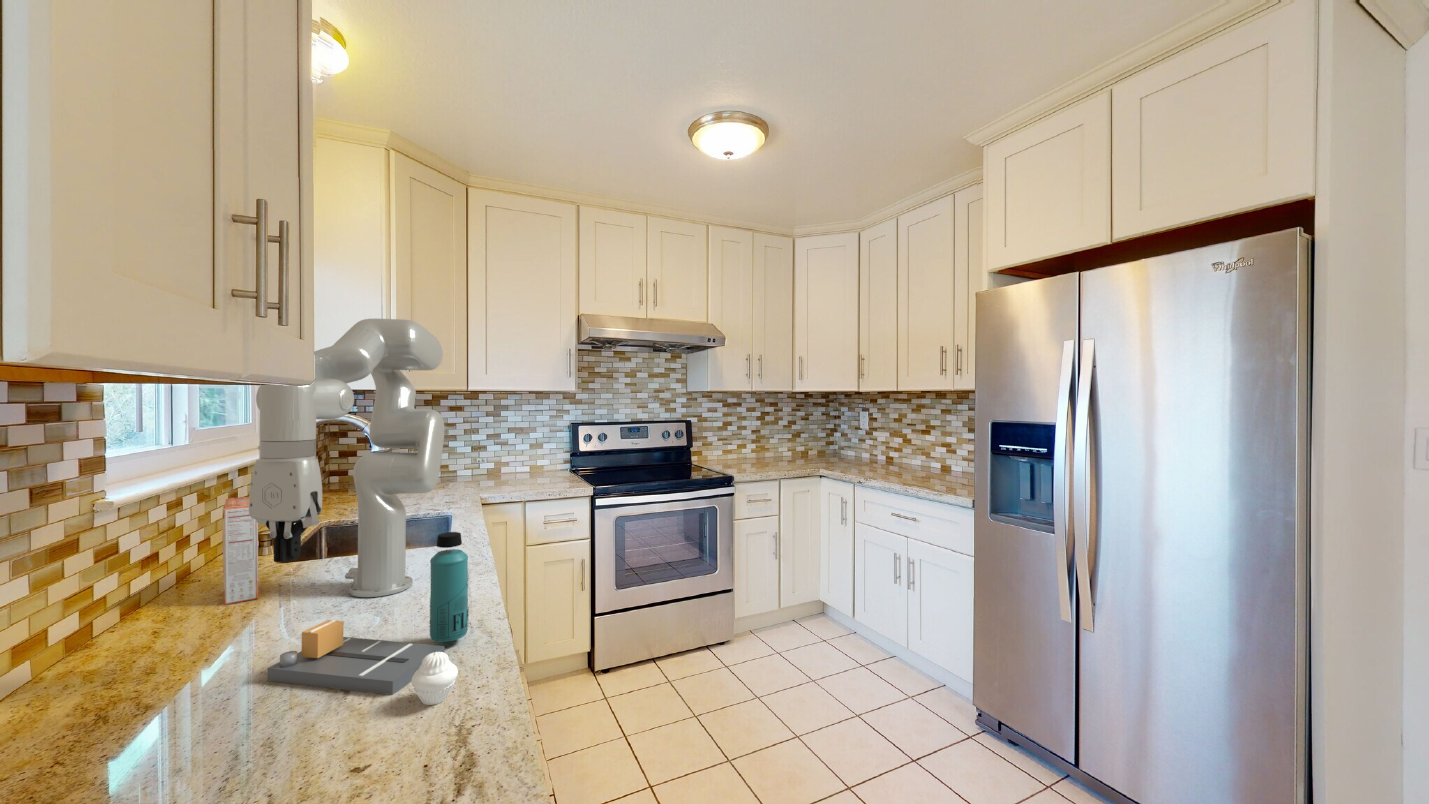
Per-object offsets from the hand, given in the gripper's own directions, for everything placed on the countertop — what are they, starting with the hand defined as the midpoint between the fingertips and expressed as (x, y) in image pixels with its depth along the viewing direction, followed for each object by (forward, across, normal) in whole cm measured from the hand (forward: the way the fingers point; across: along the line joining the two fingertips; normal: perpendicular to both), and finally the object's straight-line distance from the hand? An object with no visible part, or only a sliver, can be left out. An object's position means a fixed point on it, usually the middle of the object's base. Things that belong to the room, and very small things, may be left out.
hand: (287, 559), depth 92 cm
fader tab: (+15, +7, 0) cm, 16 cm away
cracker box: (+17, -39, +25) cm, 49 cm away
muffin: (+17, +32, -6) cm, 37 cm away
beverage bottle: (+17, +22, +11) cm, 30 cm away
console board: (+17, +14, 0) cm, 22 cm away
